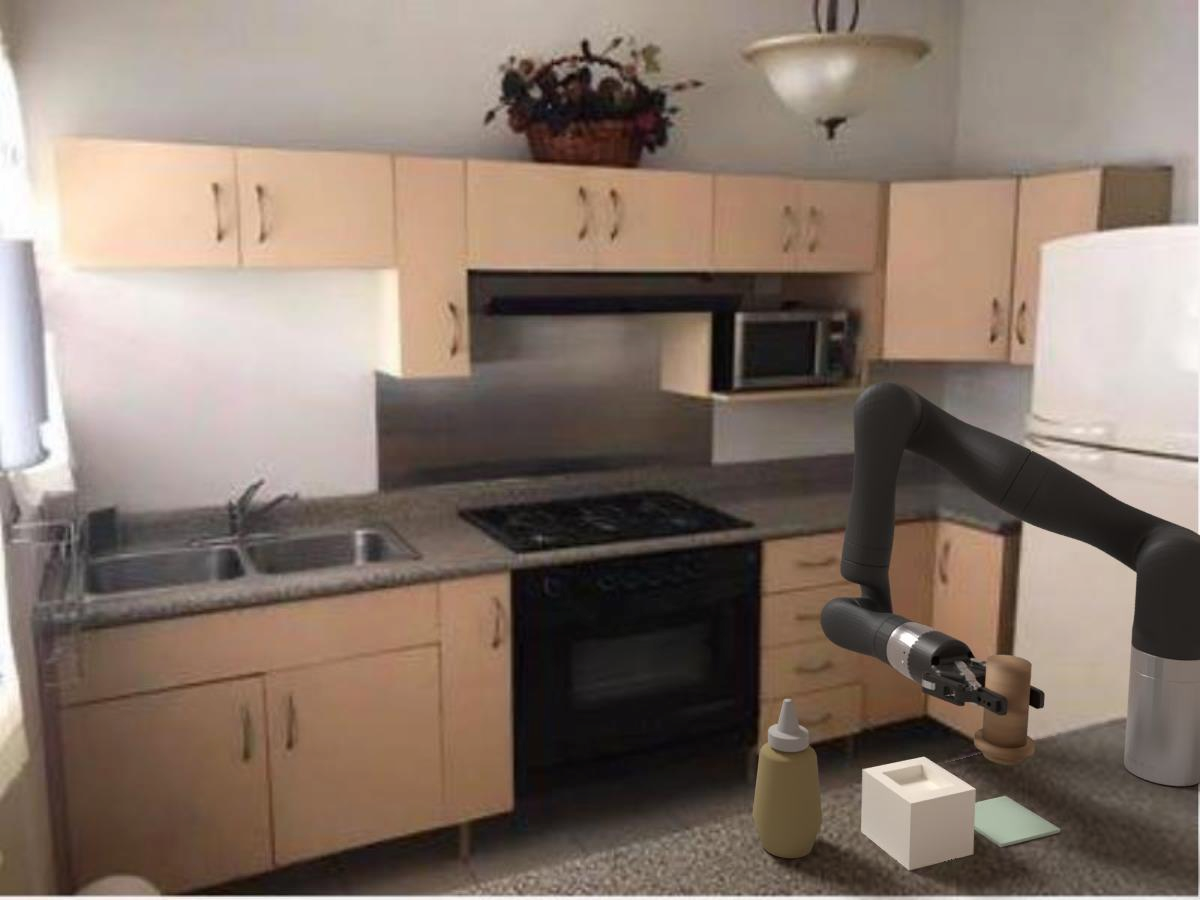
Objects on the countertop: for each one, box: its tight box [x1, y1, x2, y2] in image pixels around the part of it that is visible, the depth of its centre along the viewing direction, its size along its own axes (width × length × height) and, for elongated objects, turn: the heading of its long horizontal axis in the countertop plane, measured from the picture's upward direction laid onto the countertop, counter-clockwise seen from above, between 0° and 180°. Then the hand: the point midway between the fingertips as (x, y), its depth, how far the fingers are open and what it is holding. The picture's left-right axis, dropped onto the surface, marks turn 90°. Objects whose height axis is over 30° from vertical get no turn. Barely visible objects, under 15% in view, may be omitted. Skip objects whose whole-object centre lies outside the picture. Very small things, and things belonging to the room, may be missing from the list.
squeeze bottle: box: [752, 698, 823, 859], centre depth 115 cm, size 8×8×18 cm
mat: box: [974, 795, 1061, 848], centre depth 121 cm, size 9×9×1 cm
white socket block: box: [860, 756, 977, 871], centre depth 116 cm, size 9×9×8 cm
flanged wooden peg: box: [973, 654, 1036, 766], centre depth 119 cm, size 7×7×12 cm
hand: (1023, 704), depth 116 cm, fingers closed on flanged wooden peg, 5 cm apart
